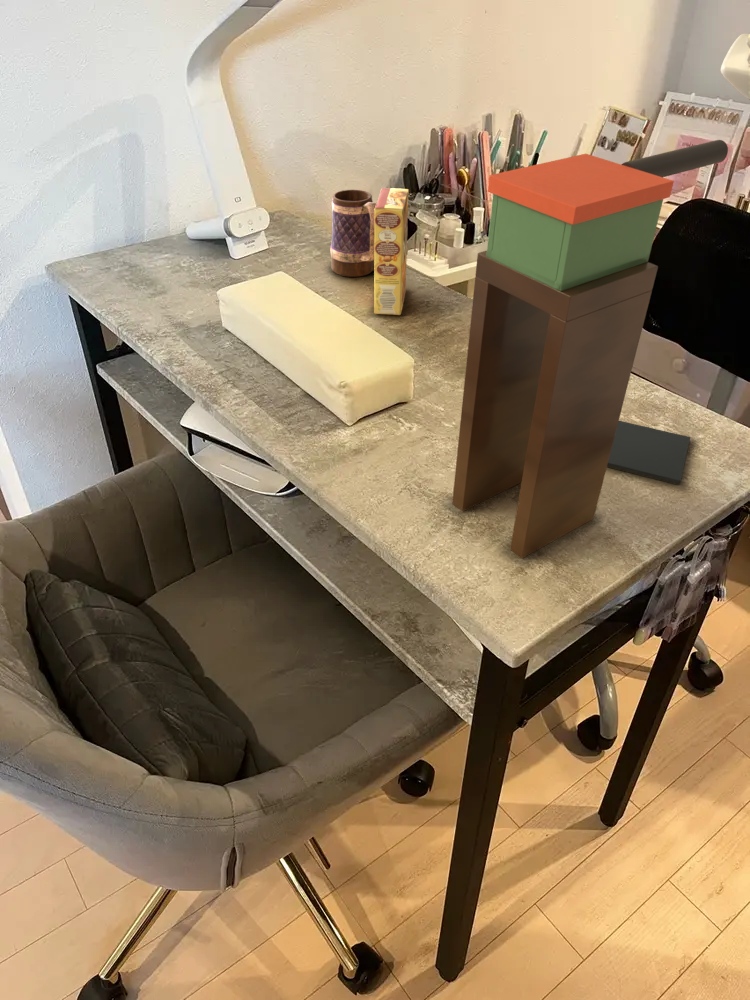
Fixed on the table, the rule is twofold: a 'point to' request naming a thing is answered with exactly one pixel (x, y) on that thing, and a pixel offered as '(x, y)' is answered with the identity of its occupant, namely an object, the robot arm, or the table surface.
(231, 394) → the table surface
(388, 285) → the candy box
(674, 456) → the mat
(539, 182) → the red square paddle
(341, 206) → the mug
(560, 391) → the stand
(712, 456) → the table surface
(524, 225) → the green open box
